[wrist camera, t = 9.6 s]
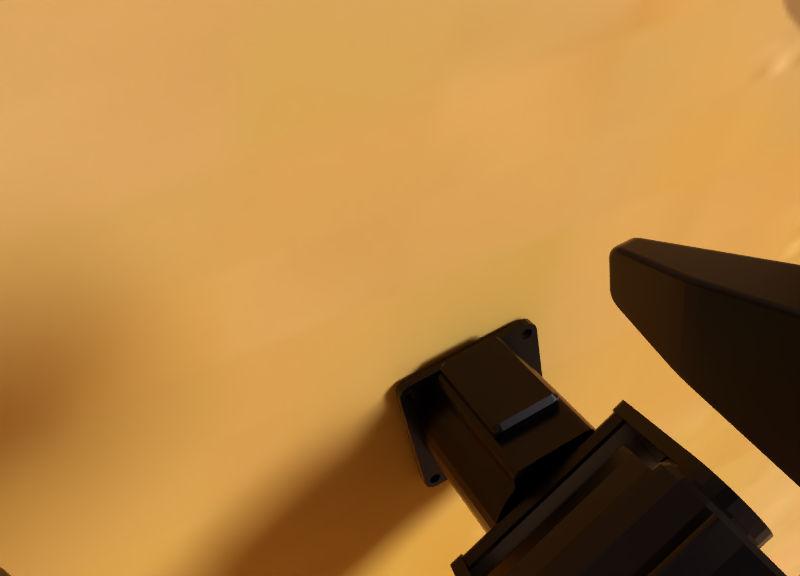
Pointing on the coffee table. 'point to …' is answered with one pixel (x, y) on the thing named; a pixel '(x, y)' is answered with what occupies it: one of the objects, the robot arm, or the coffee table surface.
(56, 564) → the coffee table surface
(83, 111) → the coffee table surface
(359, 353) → the coffee table surface
